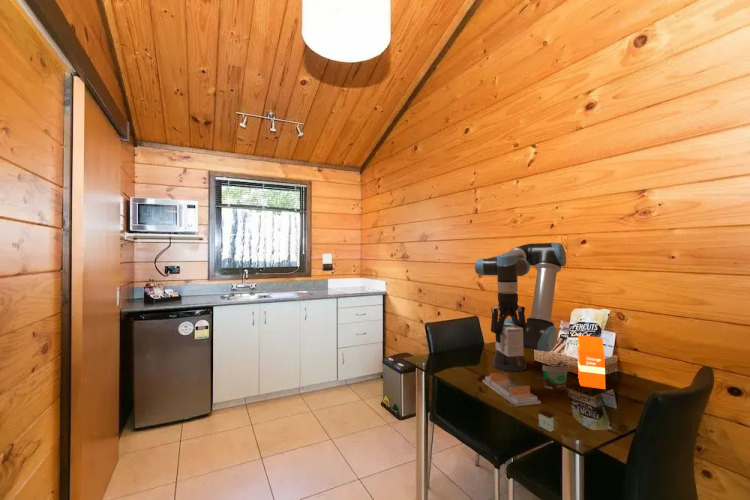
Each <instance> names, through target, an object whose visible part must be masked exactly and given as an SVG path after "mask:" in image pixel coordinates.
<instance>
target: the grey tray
mask: <svg viewBox="0 0 750 500" xmlns="http://www.w3.org/2000/svg"><path fill="white" fill-rule="evenodd" d="M482 383H483V384H484V385H486V386H487V387H489V388H490V389H492V390H493V392H496V393H497V394H499V395H500V396H501V397H503V399H505V400H507V401H508V403H511V404H512V405H514V406H515V407H524V406H533V405H541V404H542V403H541V402H542V401H541V400H540V399H538V396H536V395H535V394H533V393H532V392H531V385H530V384H524V385H523V384H522V385H519V384H517V383H516V382H514V381H512V380H511V379H510V375H509V371H507V372H496V373H490V374H489V375H488V376H487V375H486V376H485V378H484V379H482Z"/></svg>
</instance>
